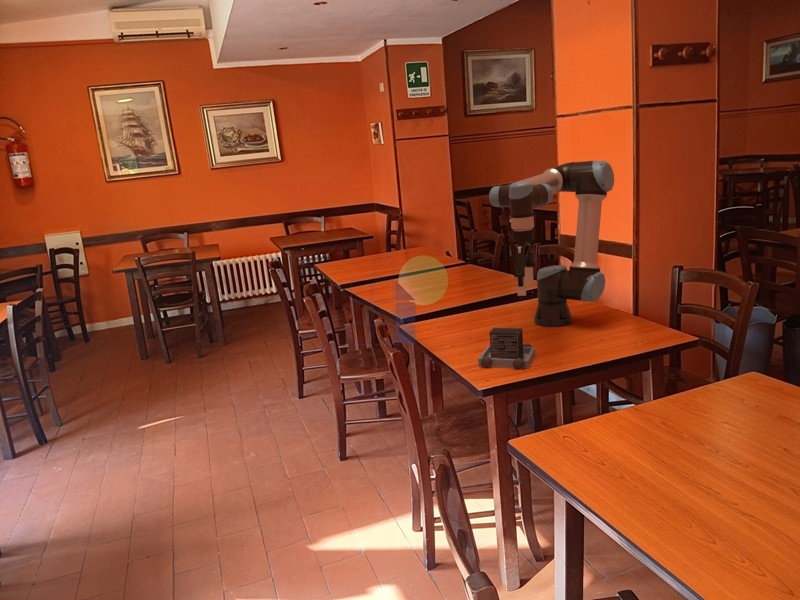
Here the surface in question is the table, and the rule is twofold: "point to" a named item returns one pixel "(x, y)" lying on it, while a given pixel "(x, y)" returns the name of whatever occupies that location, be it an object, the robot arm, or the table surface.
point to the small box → (506, 343)
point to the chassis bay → (516, 363)
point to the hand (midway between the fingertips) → (525, 290)
